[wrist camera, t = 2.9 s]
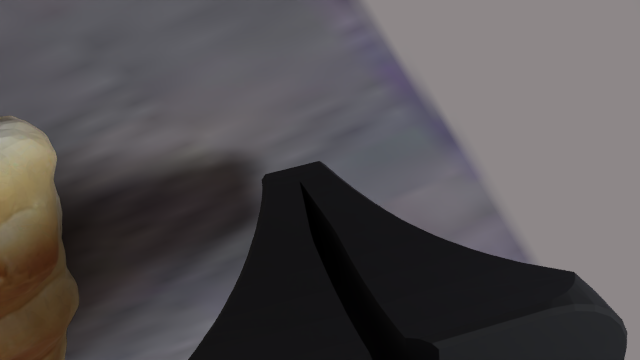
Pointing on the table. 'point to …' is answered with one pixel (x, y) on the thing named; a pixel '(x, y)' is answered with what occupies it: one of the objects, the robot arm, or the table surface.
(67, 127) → the table surface
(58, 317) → the pastry
